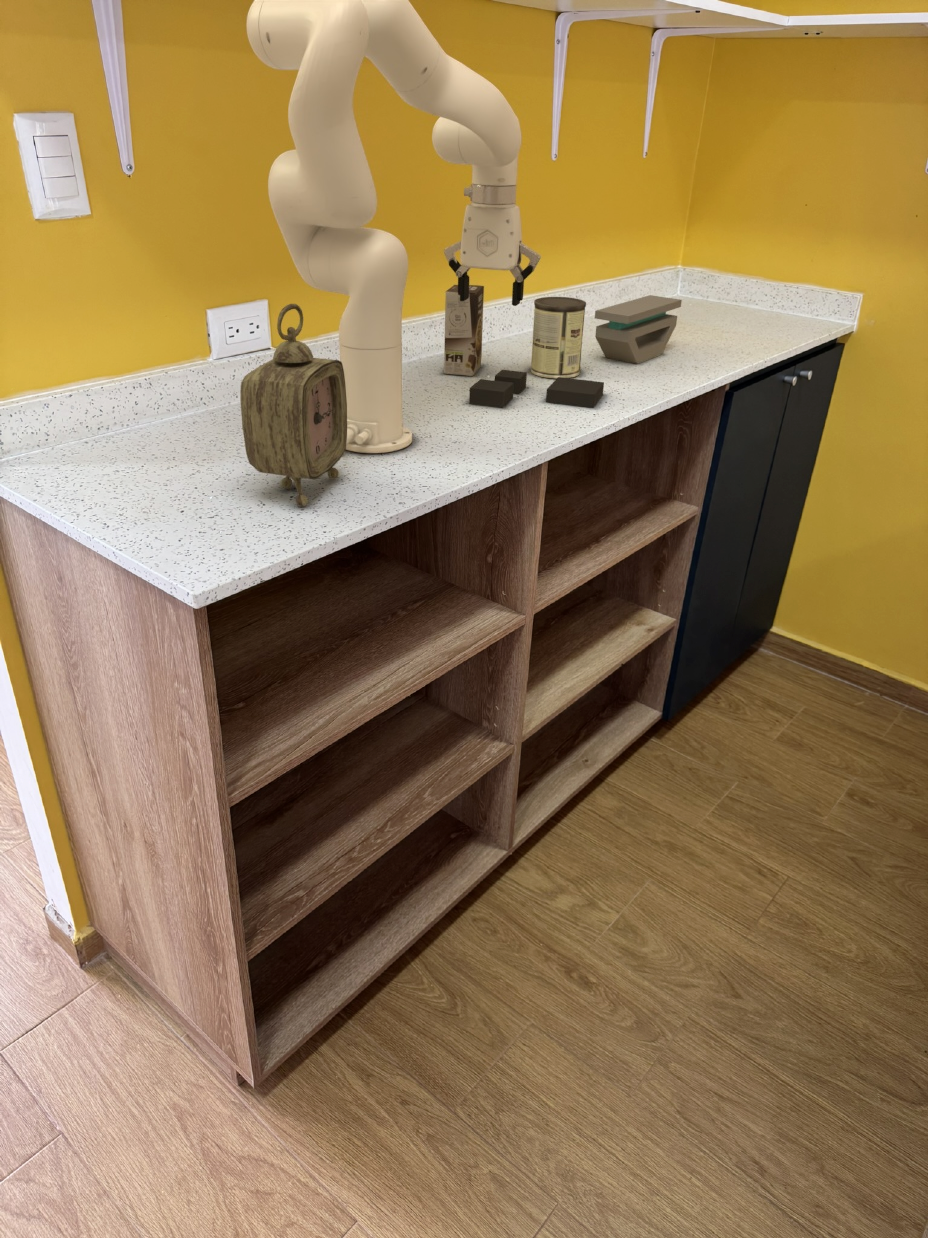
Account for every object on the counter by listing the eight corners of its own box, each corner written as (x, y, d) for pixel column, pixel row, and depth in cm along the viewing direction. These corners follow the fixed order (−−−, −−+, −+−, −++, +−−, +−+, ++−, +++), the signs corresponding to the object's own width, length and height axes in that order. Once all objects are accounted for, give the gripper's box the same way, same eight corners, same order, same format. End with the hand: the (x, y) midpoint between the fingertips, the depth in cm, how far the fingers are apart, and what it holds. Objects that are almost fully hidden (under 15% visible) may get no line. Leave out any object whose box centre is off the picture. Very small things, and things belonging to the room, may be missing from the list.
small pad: (518, 394, 168) (519, 378, 166) (493, 391, 169) (494, 375, 167) (525, 387, 172) (526, 372, 170) (501, 384, 173) (502, 369, 171)
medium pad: (503, 408, 160) (503, 391, 158) (469, 403, 161) (469, 387, 160) (513, 398, 165) (513, 382, 163) (480, 394, 167) (480, 378, 165)
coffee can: (540, 363, 188) (544, 294, 181) (586, 369, 184) (592, 299, 177) (522, 374, 180) (526, 302, 173) (570, 381, 176) (576, 308, 169)
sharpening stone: (644, 343, 207) (650, 294, 201) (674, 349, 203) (681, 299, 197) (590, 363, 189) (595, 310, 184) (622, 369, 185) (628, 316, 180)
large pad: (593, 407, 161) (594, 394, 160) (545, 402, 163) (546, 388, 162) (602, 395, 168) (604, 382, 167) (557, 389, 171) (558, 376, 170)
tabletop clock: (308, 513, 117) (295, 318, 104) (246, 505, 119) (225, 312, 106) (349, 476, 129) (342, 296, 116) (293, 468, 131) (279, 291, 118)
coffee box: (474, 376, 178) (476, 292, 169) (443, 374, 179) (444, 290, 170) (482, 365, 185) (485, 284, 177) (452, 363, 186) (454, 282, 178)
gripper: (438, 195, 148) (437, 301, 157) (538, 201, 143) (531, 310, 152) (452, 191, 154) (451, 294, 163) (548, 197, 150) (542, 302, 158)
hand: (490, 301), depth 157 cm, fingers open, 9 cm apart
